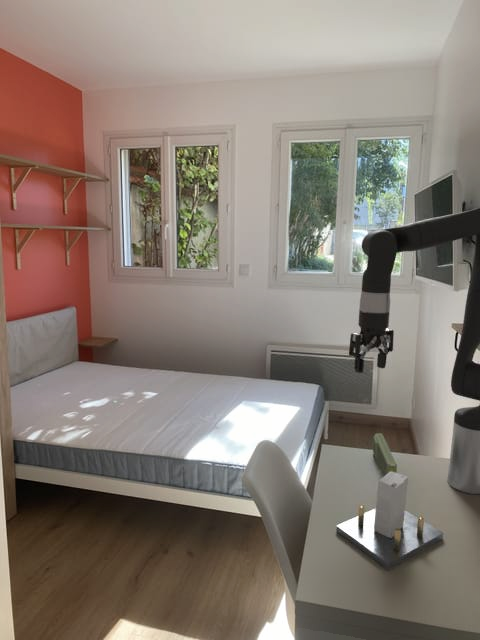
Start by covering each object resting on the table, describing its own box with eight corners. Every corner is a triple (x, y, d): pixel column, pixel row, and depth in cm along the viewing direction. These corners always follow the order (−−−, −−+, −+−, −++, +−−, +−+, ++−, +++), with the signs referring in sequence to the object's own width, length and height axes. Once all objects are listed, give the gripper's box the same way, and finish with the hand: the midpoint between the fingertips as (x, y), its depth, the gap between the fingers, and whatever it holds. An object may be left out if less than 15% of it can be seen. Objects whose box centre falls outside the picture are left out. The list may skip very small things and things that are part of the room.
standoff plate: (389, 507, 110) (391, 486, 109) (442, 539, 98) (445, 516, 97) (336, 531, 100) (337, 509, 99) (387, 570, 88) (390, 545, 87)
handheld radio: (383, 454, 138) (402, 499, 113) (372, 453, 138) (389, 499, 114) (384, 433, 137) (404, 474, 112) (373, 433, 137) (390, 474, 113)
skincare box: (385, 518, 102) (389, 469, 100) (404, 527, 99) (409, 476, 97) (372, 531, 98) (376, 479, 96) (392, 540, 95) (396, 487, 93)
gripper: (381, 305, 123) (376, 363, 126) (344, 309, 116) (340, 370, 118) (404, 309, 117) (399, 369, 120) (366, 313, 109) (362, 377, 112)
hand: (370, 370), depth 119 cm, fingers open, 8 cm apart
